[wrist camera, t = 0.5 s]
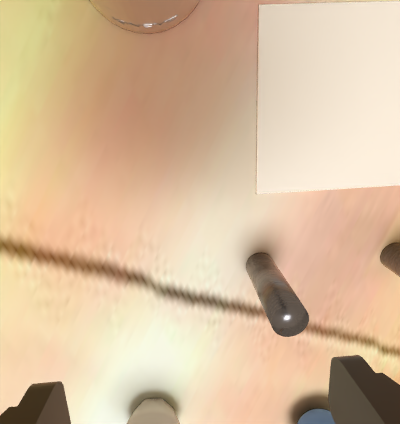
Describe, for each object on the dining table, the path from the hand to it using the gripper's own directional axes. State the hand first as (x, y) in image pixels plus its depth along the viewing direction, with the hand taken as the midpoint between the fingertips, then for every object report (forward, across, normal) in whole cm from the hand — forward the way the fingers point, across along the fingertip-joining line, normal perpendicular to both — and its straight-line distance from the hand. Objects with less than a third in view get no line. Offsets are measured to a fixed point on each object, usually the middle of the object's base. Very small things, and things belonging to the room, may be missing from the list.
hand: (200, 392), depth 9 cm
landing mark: (+17, -13, -9) cm, 24 cm away
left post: (+18, -7, +5) cm, 20 cm away
